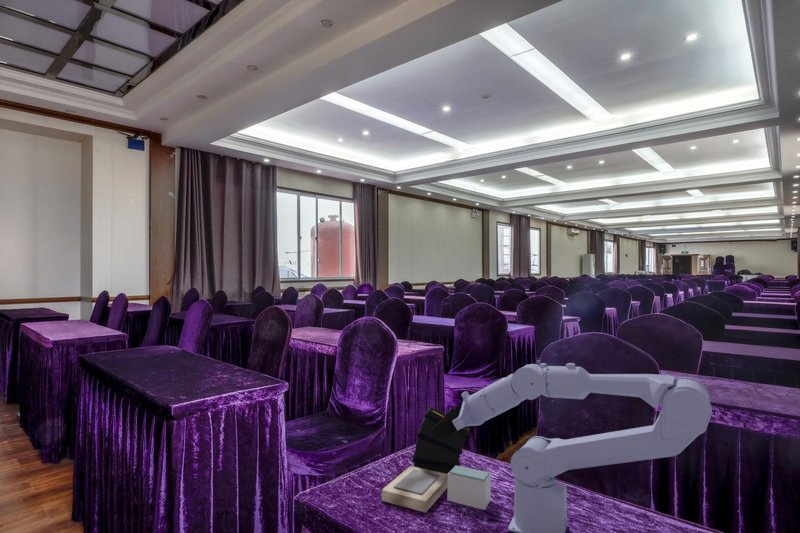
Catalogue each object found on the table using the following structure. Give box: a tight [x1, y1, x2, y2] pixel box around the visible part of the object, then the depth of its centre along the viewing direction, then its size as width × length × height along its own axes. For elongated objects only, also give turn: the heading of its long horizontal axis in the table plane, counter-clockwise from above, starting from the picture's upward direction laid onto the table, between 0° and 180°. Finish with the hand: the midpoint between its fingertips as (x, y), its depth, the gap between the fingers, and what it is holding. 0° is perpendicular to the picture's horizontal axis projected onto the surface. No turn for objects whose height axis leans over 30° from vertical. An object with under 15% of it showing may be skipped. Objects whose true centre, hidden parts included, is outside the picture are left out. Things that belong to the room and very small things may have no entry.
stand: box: [381, 465, 448, 513], centre depth 97 cm, size 10×14×2 cm
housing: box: [446, 465, 492, 510], centre depth 94 cm, size 8×4×6 cm, turn 63°
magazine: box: [412, 406, 470, 474], centre depth 109 cm, size 4×13×15 cm, turn 83°
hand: (441, 426), depth 96 cm, fingers open, 7 cm apart
